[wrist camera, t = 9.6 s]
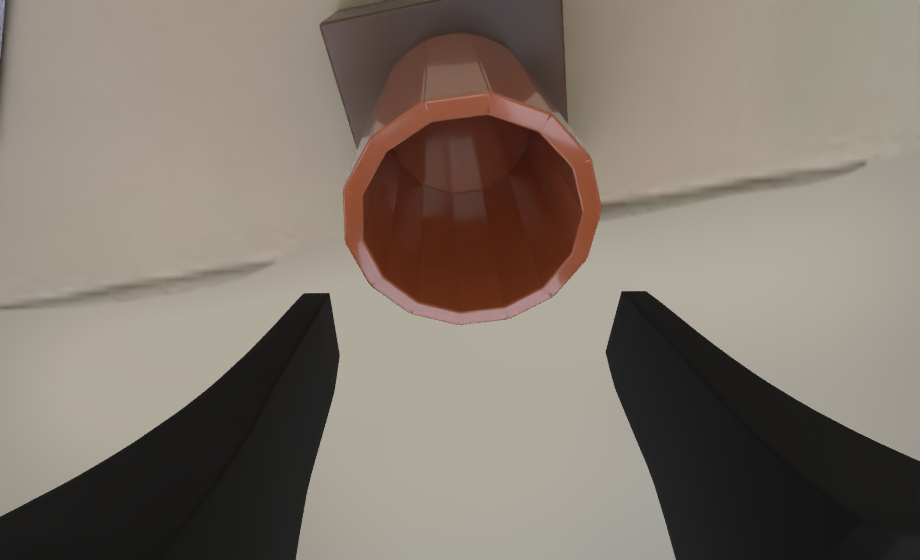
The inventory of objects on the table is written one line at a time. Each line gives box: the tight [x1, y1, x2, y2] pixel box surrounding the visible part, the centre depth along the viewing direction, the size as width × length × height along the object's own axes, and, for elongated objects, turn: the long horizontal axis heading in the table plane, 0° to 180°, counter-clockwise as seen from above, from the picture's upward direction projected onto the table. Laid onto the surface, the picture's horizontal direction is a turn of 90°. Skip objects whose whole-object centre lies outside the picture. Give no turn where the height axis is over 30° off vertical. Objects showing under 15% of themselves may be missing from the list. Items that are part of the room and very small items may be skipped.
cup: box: [343, 32, 602, 325], centre depth 13 cm, size 5×5×7 cm
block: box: [320, 0, 568, 150], centre depth 17 cm, size 7×7×3 cm
